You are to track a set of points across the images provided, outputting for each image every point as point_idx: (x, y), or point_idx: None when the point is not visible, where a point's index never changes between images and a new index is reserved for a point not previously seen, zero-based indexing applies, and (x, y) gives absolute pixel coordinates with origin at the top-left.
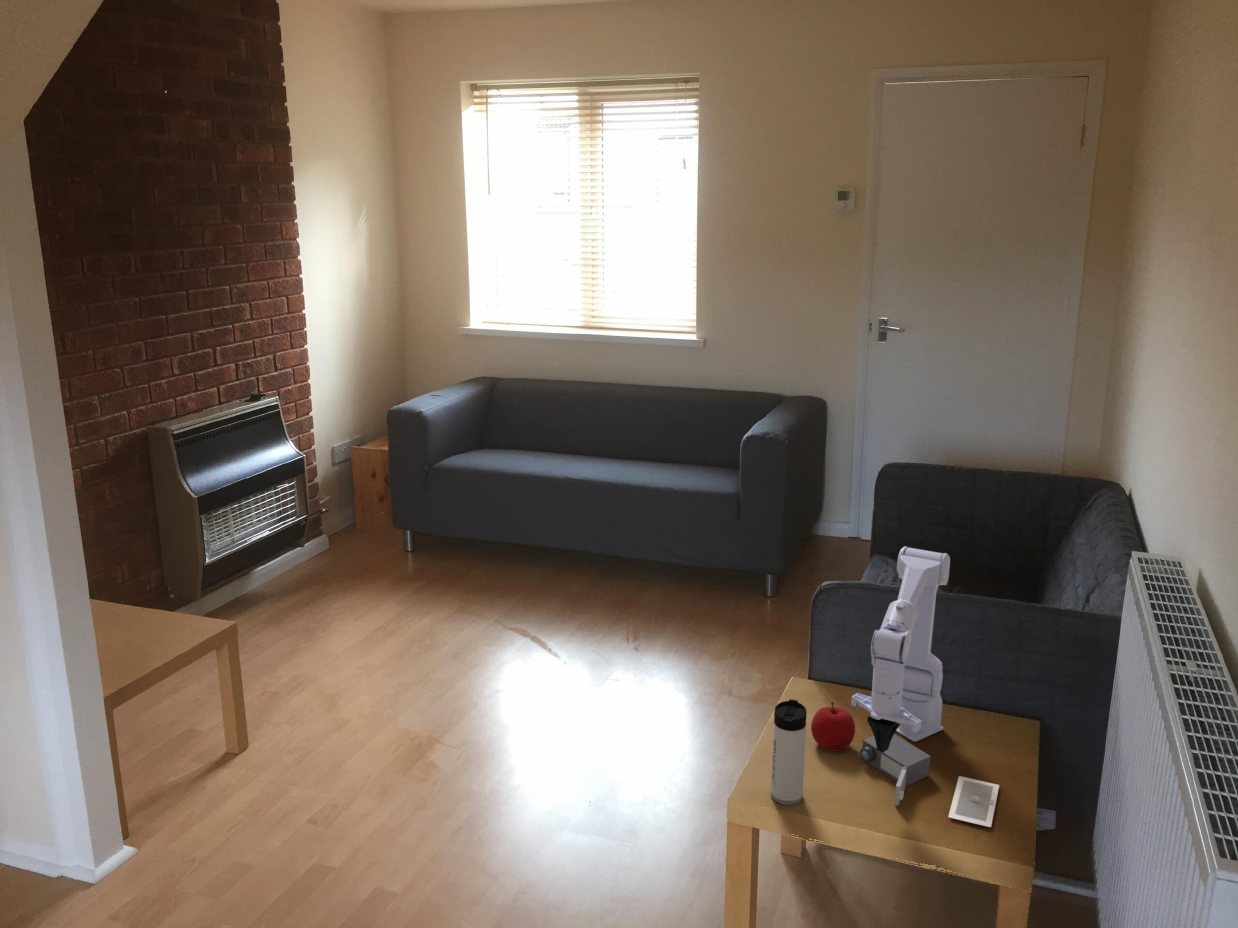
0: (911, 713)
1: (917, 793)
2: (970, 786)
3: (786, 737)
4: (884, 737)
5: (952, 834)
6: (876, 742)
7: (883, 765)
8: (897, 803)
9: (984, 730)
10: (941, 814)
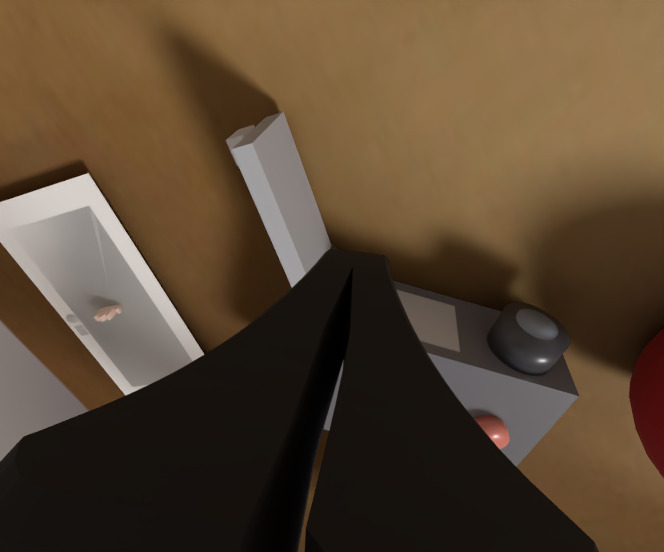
0: None
1: (269, 248)
2: (170, 360)
3: None
4: (240, 340)
5: (15, 87)
6: (383, 288)
7: (440, 313)
8: (268, 117)
9: (303, 543)
10: (131, 183)
